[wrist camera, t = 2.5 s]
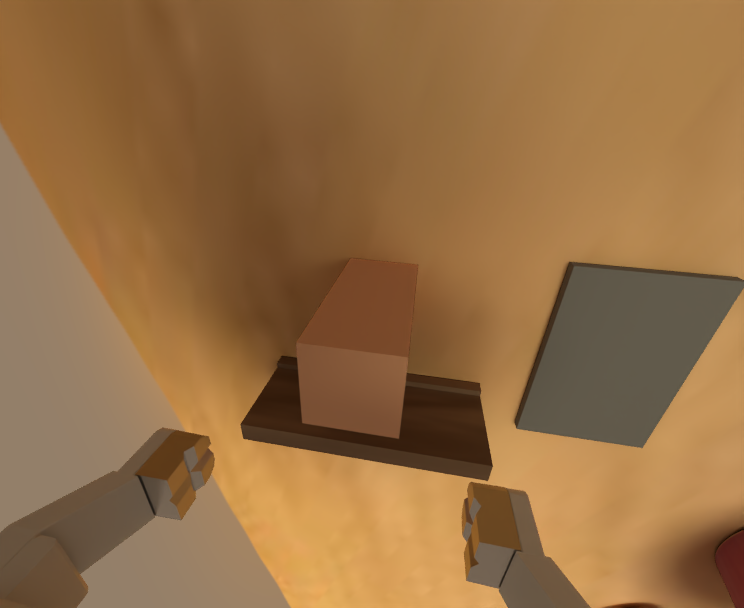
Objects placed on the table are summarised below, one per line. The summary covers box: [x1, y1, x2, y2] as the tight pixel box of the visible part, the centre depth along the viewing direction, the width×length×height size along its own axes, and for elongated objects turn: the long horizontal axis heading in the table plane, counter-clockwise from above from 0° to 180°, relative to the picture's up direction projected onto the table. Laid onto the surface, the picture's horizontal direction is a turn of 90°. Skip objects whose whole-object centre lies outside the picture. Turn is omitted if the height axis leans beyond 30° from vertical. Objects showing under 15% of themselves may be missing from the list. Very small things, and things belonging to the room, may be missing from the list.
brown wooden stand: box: [241, 356, 493, 481], centre depth 22 cm, size 5×14×6 cm, turn 88°
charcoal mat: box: [515, 262, 744, 448], centre depth 20 cm, size 12×8×1 cm, turn 178°
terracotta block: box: [296, 258, 418, 439], centre depth 16 cm, size 4×4×9 cm
